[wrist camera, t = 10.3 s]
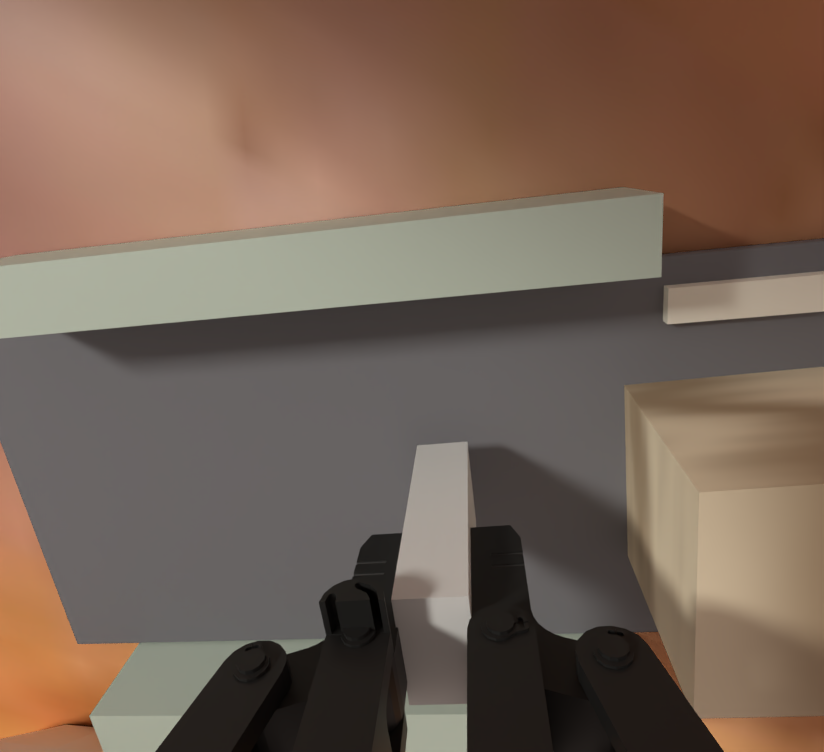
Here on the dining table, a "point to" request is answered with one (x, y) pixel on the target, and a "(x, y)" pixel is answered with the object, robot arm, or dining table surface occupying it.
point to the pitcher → (54, 740)
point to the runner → (369, 438)
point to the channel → (306, 290)
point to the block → (732, 535)
